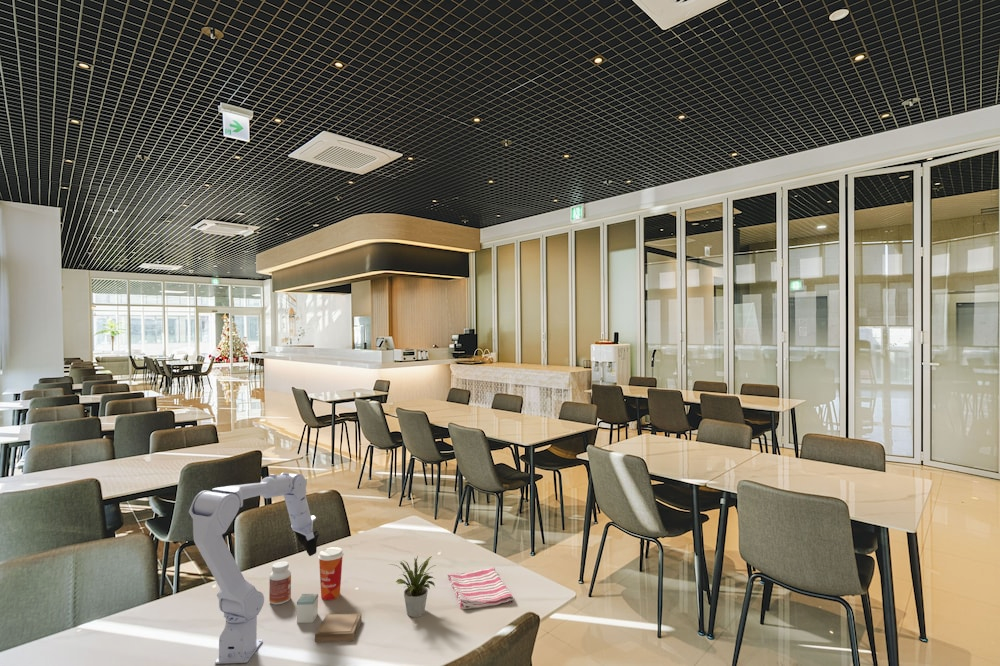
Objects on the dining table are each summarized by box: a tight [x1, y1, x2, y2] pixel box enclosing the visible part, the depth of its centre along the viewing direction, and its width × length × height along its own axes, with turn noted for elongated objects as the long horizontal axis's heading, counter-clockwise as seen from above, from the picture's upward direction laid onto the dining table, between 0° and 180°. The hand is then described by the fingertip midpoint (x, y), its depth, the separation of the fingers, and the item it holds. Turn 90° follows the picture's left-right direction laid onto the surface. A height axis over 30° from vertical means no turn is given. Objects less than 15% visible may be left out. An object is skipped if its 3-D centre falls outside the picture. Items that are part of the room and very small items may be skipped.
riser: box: [314, 613, 362, 643], centre depth 139 cm, size 10×10×2 cm
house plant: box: [387, 555, 437, 618], centre depth 148 cm, size 14×14×16 cm
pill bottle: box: [268, 560, 292, 605], centre depth 156 cm, size 6×6×11 cm
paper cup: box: [317, 546, 345, 601], centre depth 159 cm, size 8×8×14 cm
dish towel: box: [447, 567, 514, 610], centre depth 163 cm, size 17×23×4 cm
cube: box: [296, 593, 319, 624], centre depth 146 cm, size 5×5×6 cm
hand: (308, 548), depth 153 cm, fingers open, 7 cm apart
